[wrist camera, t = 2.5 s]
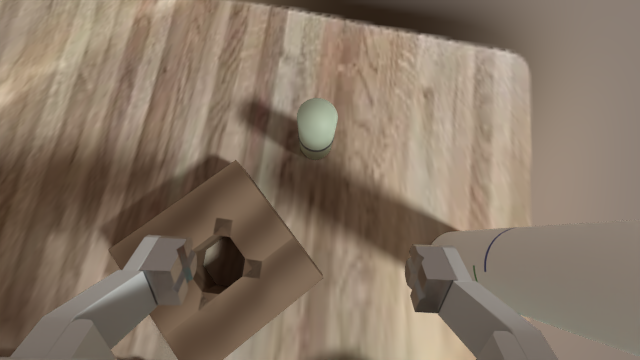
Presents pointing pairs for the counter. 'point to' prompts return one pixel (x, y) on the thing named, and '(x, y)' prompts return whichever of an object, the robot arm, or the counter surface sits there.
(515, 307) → the cylindrical container
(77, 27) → the counter surface
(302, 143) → the peg
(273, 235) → the socket block
